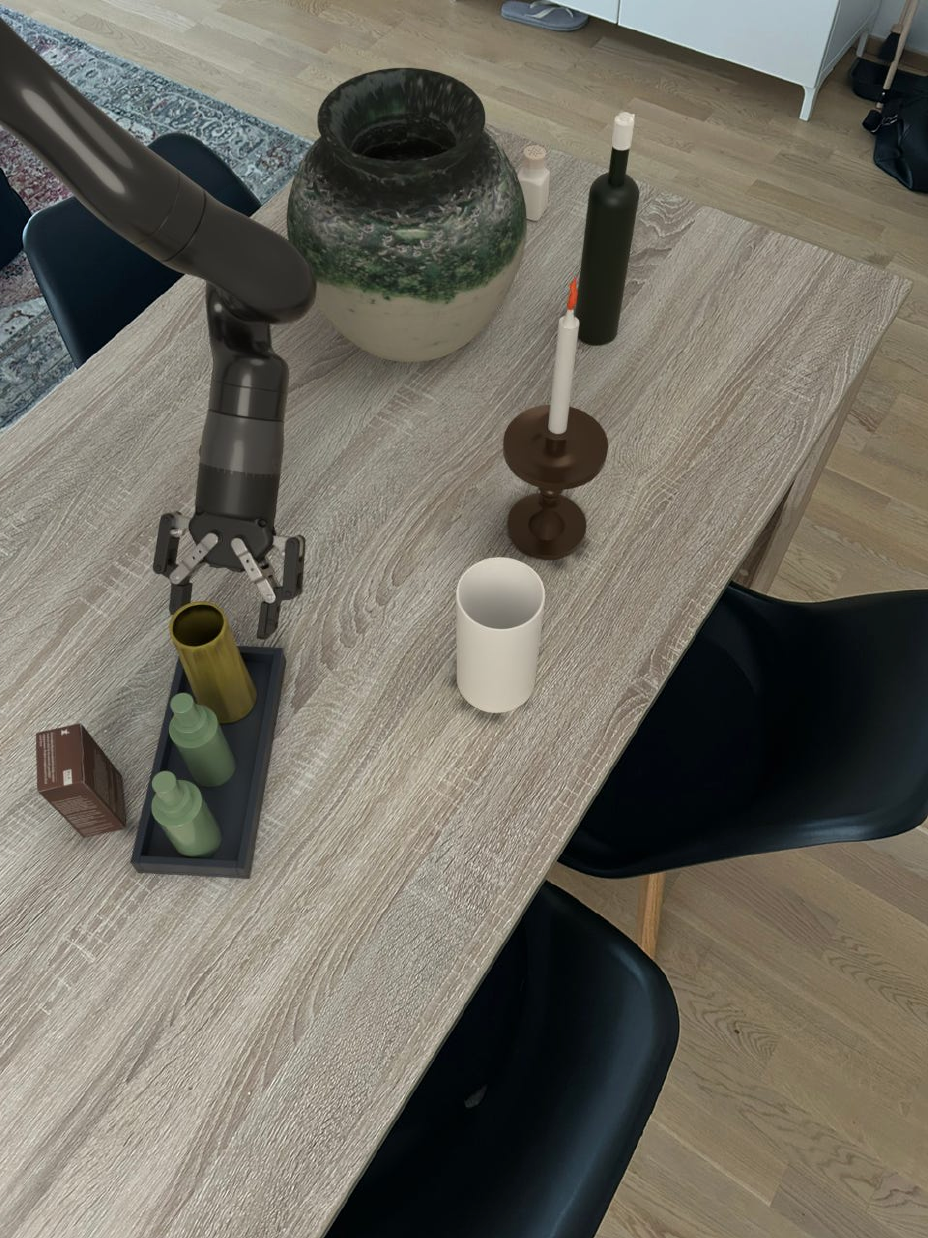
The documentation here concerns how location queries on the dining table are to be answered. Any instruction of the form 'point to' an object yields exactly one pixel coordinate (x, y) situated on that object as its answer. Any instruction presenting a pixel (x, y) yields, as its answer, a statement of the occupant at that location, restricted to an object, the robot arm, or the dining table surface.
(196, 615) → the vase
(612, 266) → the wine bottle
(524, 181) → the pepper shaker
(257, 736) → the tray
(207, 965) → the dining table surface
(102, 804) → the box
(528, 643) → the cup
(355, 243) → the vase
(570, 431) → the candlestick
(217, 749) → the bottles
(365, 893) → the dining table surface
